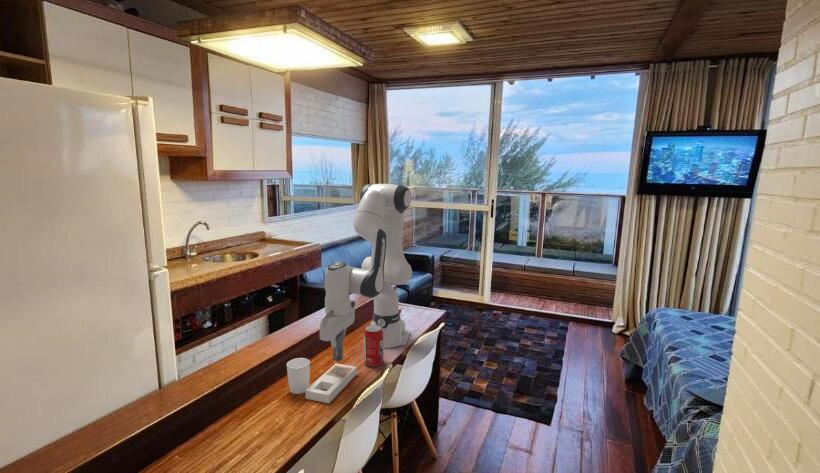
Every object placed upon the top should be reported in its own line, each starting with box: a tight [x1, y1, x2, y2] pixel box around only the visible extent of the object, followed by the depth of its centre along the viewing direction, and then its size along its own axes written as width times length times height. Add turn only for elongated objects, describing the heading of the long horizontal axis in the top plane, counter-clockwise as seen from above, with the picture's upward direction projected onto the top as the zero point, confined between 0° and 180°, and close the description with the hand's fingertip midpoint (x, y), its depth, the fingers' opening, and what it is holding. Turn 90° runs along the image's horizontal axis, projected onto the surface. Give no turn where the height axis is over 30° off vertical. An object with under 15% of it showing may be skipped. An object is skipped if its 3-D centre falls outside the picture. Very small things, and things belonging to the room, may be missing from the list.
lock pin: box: [332, 330, 344, 362], centre depth 150 cm, size 4×4×11 cm
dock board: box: [304, 362, 358, 404], centre depth 147 cm, size 21×9×3 cm, turn 161°
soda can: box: [363, 324, 385, 367], centre depth 164 cm, size 8×8×15 cm
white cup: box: [286, 357, 311, 395], centre depth 144 cm, size 8×8×10 cm
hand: (338, 343), depth 150 cm, fingers closed on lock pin, 4 cm apart
